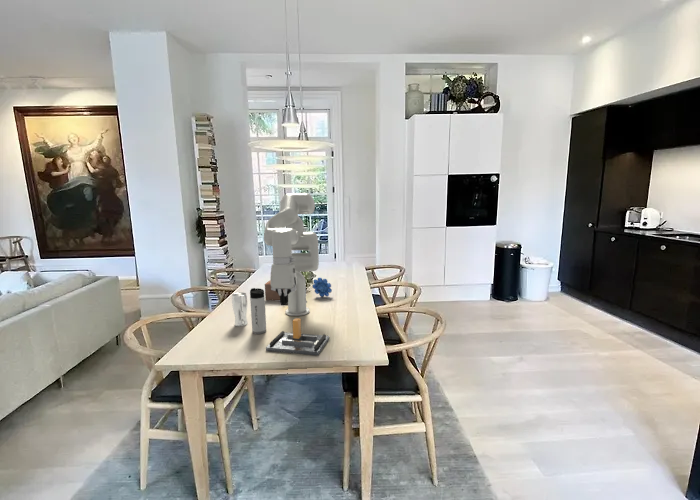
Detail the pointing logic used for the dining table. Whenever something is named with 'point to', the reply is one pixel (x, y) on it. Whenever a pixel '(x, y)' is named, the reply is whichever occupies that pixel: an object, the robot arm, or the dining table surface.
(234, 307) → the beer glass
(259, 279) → the dining table surface
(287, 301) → the robot arm
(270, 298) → the tissue box cover
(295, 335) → the lever
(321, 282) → the blue lobed wheel
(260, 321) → the travel mug
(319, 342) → the tray
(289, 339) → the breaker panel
